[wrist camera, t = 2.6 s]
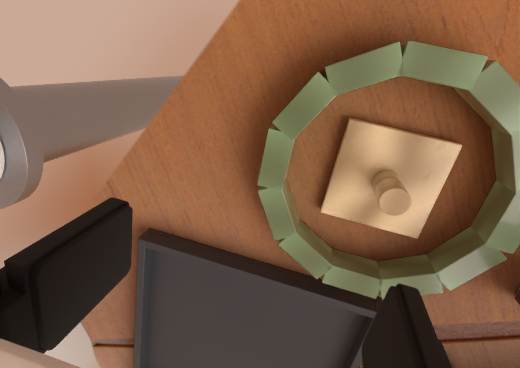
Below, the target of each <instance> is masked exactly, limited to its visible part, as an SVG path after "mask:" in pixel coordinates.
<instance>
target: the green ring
mask: <svg viewBox="0 0 520 368" xmlns="http://www.w3.org/2000/svg"><path fill="white" fill-rule="evenodd" d="M487 58H488V56H486V55H481V54H476V53H471V52H466V51H461V50H456V49H450V48H445V47H440V46H435V45H430V44H425V43H420V42H415V41H410V40H409V41H406V42H403V43H400V42H399V41H398V42H395V43H392V44H389V45H386V46H383V47H380V48H378V49H375V50H372V51H369V52H366V53H363V54H360V55H357V56H354V57H352V58H349V59H346V60H343V61H340V62H337V63H334V64H331V65H328V66H326V67H325V72H326V76H327V78H326V77H325V76H324V75H323V74H322V73H321V72H320V71H318V72H317V73H316V74H315V75H314V76H313V77H312V78H311V79H310V80H309V82H308V83H307V84H306V85H305V86H304V87H303V88H302V89H301V90H300V92H299V93H298V94H297V95H296V96H295V97H294V98H293V99H292V100H291V102H290V103H289V104H288V105H287V106H286V107H285V108H284V109H283V110H282V111H281V113H280V114H279V115H278V116H277V117H276V118H275V119H274V120H273V121H272V123H273V125H272V126H271V127H270V128H269V129H268V134H267V138H266V143H265V148H264V153H263V158H262V162H261V167H260V172H259V177H258V181H257V185H259V186H260V187H259V189H258V194H259V197H260V200H261V203H262V206H263V208H264V211H265V214H266V217H267V220H268V223H269V226H270V228H271V231H272V234H273V237H274V240H278V239H279V243H278V245H279V246H280V247H281V248H282V249H283V250H284V251H286V252H287V253H288V254H289V255H290V256H291V257H292V258H293V259H295V260H296V261H297V262H298V263H299V264H300V265H301V266H302V267H303V268H305V269H306V270H307V271H308V272H309V273H310V274H311V275H312V276H313V277H315V278H316V279H318V278H320V277H321V276H322V283H325V284H328V285H332V286H335V287H338V288H341V289H345V290H348V291H351V292H355V293H358V294H361V295H364V296H368V297H371V298H374V299H376V297H377V295H378V293H379V291H380V294H381V298H382V299H384V298H385V295H386V293H387V291H388V289H389V288H390V286H396V285H397V284H398V283H400V284H404V285H407V286H410V287H414V288H417V289H418V290H419V292H420V295H430V294H440V293H443V288H442V284H443V285H444V286H445V287H446V288H447V289H448V290H449V291H451V290H453V289H455V288H457V287H458V286H460V285H462V284H464V283H466V282H467V281H469V280H471V279H473V278H475V277H476V276H478V275H480V274H482V273H484V272H485V271H487V270H489V269H491V268H493V267H494V266H496V265H498V264H500V263H501V262H503V261H505V260H507V258H506V257H505V256H504V254H503V253H502V252H501V251H503V252H506V253H510V254H514V252H515V250H516V249H517V247H518V246H519V244H520V85H519V84H518V83H517V82H516V81H515V80H514V79H513V78H512V77H511V76H510V75H509V73H508V72H507V71H506V70H505V69H504V68H503V67H502V66H501V65H500V64H499V63H498V62H497V61H496V60H489V61H486V60H487ZM398 76H401V77H406V78H411V79H415V80H420V81H425V82H430V83H434V84H439V85H444V86H448V87H452V88H453V89H454V90H455V91H456V92H457V93H458V94H459V95H460V96H461V97H462V98H463V99H464V100H465V101H466V102H467V103H468V104H469V105H470V106H471V107H472V108H473V110H474V111H475V112H476V113H477V114H478V115H479V116H480V117H481V118H482V119H483V120H484V121H485V122H486V123H487V124H488V125H489V126H490V127H491V132H492V142H493V152H494V162H495V172H496V181H495V183H494V185H493V187H492V188H491V190H490V192H489V194H488V196H487V197H486V199H485V201H484V203H483V204H482V206H481V208H480V210H479V212H478V213H477V215H476V217H475V219H474V221H473V222H472V224H471V226H470V227H468V228H467V229H465V230H463V231H462V232H460V233H459V234H457V235H456V236H454V237H452V238H451V239H449V240H448V241H446V242H445V243H443V244H441V245H440V246H438V247H437V248H435V249H434V250H432V251H430V252H429V253H427V254H424V255H417V256H410V257H403V258H396V259H389V260H381V261H374V260H371V259H367V258H364V257H360V256H357V255H354V254H350V253H347V252H343V251H340V250H336V249H333V248H331V247H329V246H328V245H327V244H326V243H325V242H324V241H323V240H322V239H321V238H320V237H319V236H317V235H316V234H315V233H314V232H313V231H312V230H311V229H310V228H309V227H308V226H307V225H305V224H304V223H303V222H302V221H301V220H300V219H299V216H298V213H297V209H296V206H295V203H294V200H293V197H292V194H291V190H290V187H289V184H288V181H287V178H286V177H287V173H288V169H289V165H290V161H291V157H292V153H293V149H294V145H295V141H296V137H297V136H298V135H299V133H300V132H301V131H302V130H303V129H304V128H305V127H306V126H307V125H308V124H309V123H310V122H311V121H312V120H313V119H314V118H315V117H316V116H317V115H318V114H319V113H320V112H321V111H322V110H323V109H324V108H325V107H326V106H327V105H328V104H329V103H330V102H331V101H332V100H333V99H334V98H335V97H336V96H337V95H341V94H344V93H347V92H350V91H353V90H357V89H360V88H363V87H366V86H369V85H373V84H376V83H379V82H382V81H385V80H389V79H392V78H395V77H398Z"/></svg>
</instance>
